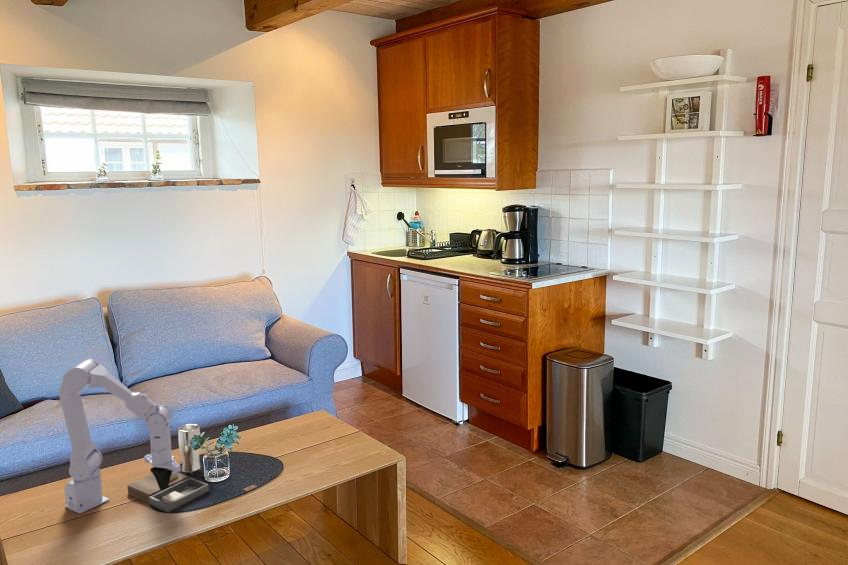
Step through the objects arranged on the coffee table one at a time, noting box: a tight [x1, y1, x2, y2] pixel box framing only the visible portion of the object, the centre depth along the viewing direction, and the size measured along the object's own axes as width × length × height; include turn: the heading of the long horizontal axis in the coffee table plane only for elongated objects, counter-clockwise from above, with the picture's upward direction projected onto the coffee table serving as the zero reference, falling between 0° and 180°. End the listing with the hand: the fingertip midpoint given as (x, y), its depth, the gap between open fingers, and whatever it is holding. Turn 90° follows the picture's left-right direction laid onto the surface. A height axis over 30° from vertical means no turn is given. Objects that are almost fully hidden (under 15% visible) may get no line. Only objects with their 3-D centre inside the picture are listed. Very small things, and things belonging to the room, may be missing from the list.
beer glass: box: [177, 423, 202, 473], centre depth 218 cm, size 7×7×15 cm
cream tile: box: [162, 491, 184, 503], centre depth 197 cm, size 4×4×2 cm
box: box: [148, 477, 210, 513], centre depth 200 cm, size 15×9×2 cm, turn 148°
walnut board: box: [127, 472, 189, 504], centre depth 206 cm, size 14×11×3 cm
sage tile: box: [170, 472, 179, 480], centre depth 208 cm, size 4×4×2 cm
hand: (164, 488), depth 199 cm, fingers closed
